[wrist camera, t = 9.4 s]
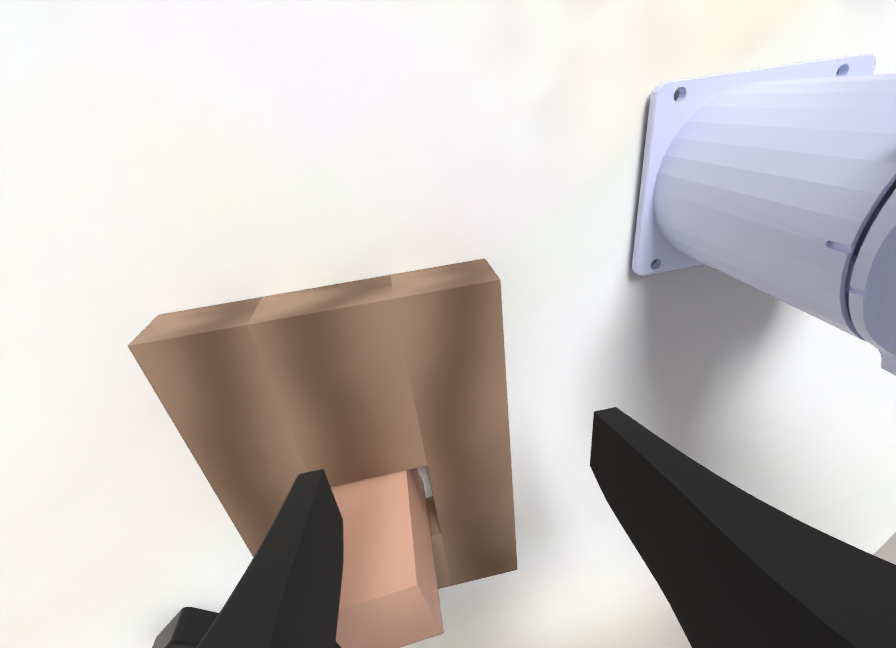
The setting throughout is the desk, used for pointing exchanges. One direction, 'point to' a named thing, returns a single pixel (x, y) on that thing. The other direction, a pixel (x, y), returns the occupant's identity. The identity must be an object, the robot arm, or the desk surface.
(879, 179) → the robot arm
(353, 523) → the pin
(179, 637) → the multiport hub
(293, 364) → the pin plate
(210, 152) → the desk surface
